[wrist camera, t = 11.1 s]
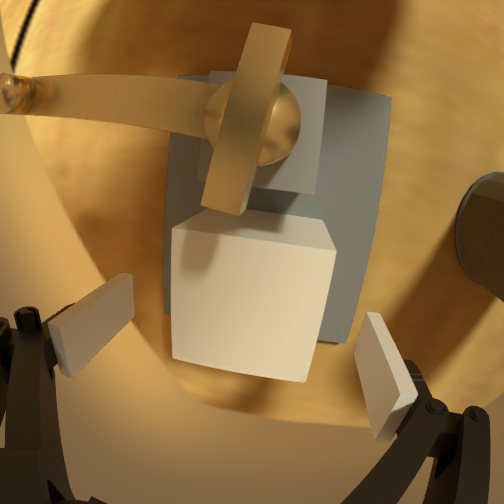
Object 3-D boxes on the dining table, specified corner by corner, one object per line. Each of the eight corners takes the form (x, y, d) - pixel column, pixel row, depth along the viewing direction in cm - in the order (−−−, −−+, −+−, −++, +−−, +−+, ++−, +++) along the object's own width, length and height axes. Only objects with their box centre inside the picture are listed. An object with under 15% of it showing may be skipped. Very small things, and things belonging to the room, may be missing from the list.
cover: (214, 205, 22) (172, 228, 14) (322, 220, 21) (336, 251, 14) (207, 302, 24) (172, 358, 17) (304, 317, 24) (305, 382, 16)
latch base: (182, 78, 20) (115, 37, 11) (387, 99, 19) (444, 61, 9) (168, 308, 26) (113, 373, 17) (344, 337, 25) (361, 420, 15)
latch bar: (317, 71, 10) (325, 31, 6) (278, 208, 12) (269, 229, 8) (54, 51, 11) (5, 38, 7) (31, 148, 13) (-22, 153, 9)
